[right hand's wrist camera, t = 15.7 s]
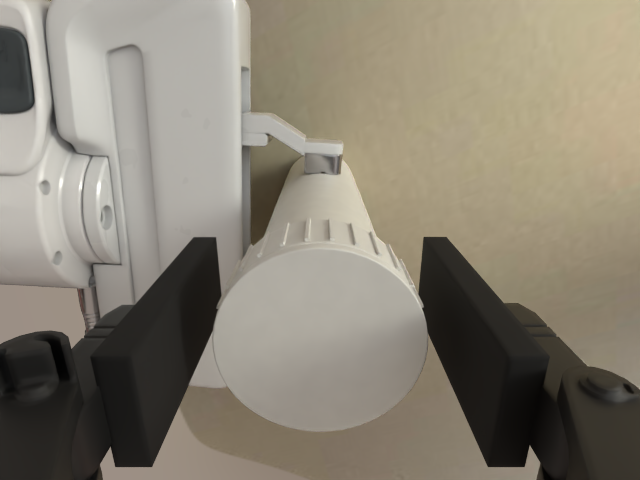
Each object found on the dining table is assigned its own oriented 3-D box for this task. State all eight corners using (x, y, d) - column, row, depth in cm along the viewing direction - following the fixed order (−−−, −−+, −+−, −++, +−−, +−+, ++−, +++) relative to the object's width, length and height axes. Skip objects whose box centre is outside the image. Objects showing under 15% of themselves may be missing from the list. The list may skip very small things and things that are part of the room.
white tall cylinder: (282, 154, 26) (220, 259, 10) (352, 148, 26) (406, 244, 10) (290, 220, 28) (247, 406, 11) (355, 215, 28) (407, 396, 11)
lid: (235, 379, 13) (219, 434, 11) (220, 216, 11) (197, 245, 9) (405, 378, 13) (422, 433, 11) (418, 215, 11) (441, 244, 9)
